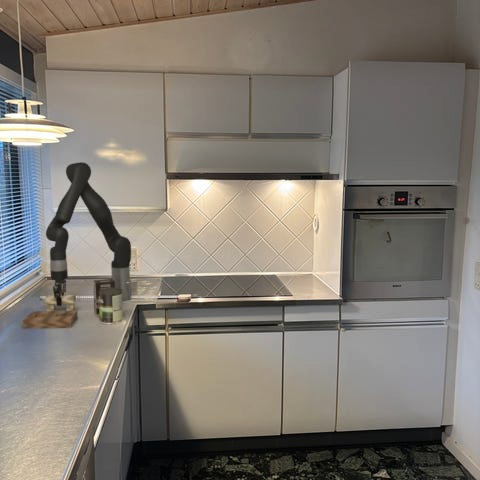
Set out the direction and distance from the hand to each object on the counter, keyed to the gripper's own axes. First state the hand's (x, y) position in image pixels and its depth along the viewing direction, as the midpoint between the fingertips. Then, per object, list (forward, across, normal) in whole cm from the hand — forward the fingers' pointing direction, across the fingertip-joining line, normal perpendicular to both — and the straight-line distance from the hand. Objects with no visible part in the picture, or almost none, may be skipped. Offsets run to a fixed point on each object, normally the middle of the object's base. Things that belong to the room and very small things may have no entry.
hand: (60, 303), depth 228 cm
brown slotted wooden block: (+4, -16, 0) cm, 17 cm away
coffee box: (+4, -3, -21) cm, 22 cm away
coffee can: (+4, -14, -26) cm, 29 cm away
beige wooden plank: (+4, 0, 0) cm, 4 cm away
